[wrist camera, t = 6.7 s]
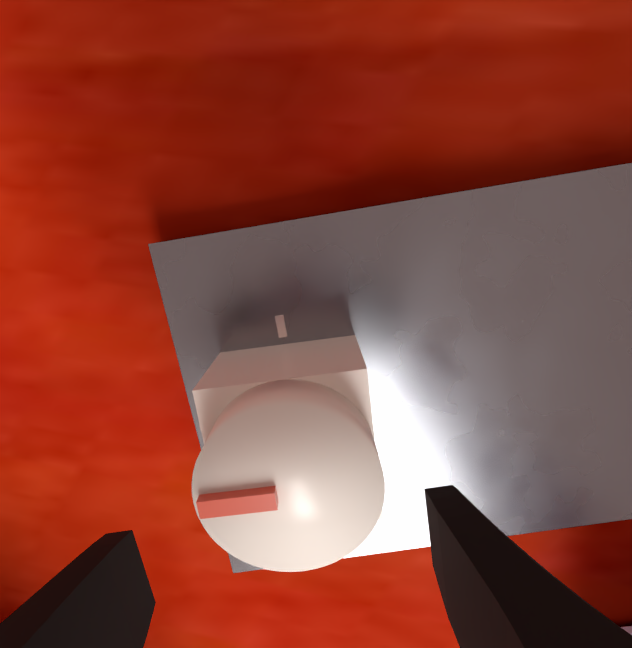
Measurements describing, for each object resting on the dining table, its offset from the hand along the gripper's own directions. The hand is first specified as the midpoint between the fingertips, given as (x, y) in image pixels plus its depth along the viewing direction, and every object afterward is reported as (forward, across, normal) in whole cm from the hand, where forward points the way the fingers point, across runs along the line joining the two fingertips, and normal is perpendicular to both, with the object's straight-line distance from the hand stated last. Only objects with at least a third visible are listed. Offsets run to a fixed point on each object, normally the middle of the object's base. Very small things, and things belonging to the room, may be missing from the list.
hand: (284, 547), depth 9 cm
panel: (+8, -5, 0) cm, 9 cm away
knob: (+7, 0, 0) cm, 7 cm away
